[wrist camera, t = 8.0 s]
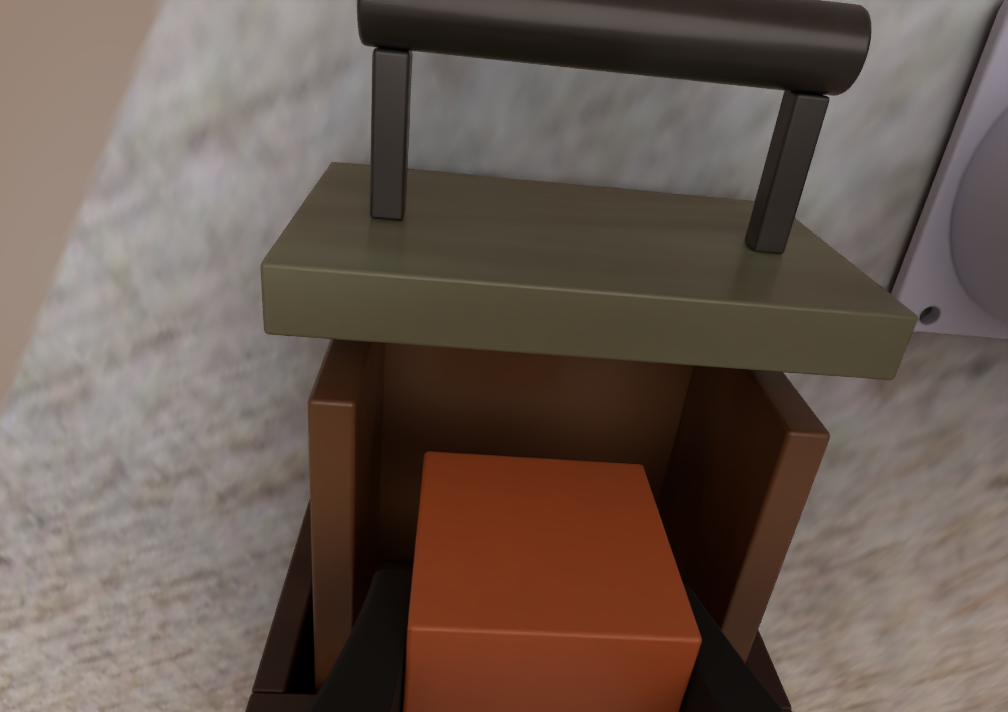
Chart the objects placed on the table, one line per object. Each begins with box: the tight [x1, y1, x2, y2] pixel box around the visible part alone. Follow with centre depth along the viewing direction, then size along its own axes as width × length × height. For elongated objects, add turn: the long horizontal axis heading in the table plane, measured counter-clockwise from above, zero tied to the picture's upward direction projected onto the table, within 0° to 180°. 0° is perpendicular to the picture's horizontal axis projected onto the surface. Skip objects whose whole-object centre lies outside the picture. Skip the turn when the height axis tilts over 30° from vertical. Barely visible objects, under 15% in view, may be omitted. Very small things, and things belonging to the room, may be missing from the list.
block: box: [402, 451, 702, 712], centre depth 12 cm, size 4×4×4 cm
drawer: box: [260, 0, 918, 695], centre depth 16 cm, size 16×10×6 cm, turn 174°
